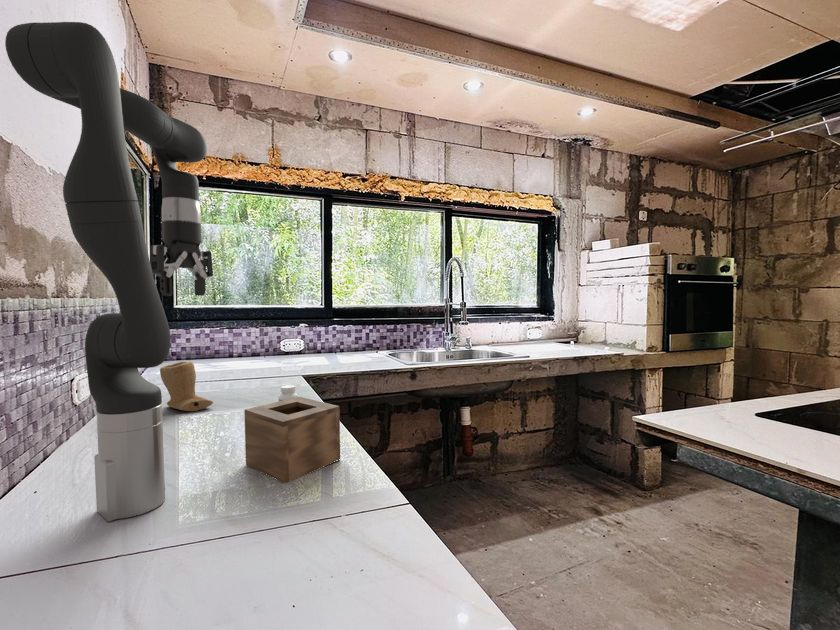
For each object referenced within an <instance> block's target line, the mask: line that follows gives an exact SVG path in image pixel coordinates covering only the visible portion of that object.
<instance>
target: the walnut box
mask: <svg viewBox="0 0 840 630" xmlns="http://www.w3.org/2000/svg"><path fill="white" fill-rule="evenodd" d="M243 410H244V442H245V444H244V446H245V447H244V448H245V451H244V452H245V466H246V465H247V466H246V467H248V468H251V469H253V470H255V471H257V472H260V473H261V472H262V473H261V474H263V473H264V475H266V474H267V475H266V476H268V475H269V476H268V477H270V476H271V478H272V477H274V478H276V479H277V481H278V480H279V481H278V482H281V483H283V484H286V483H289V482H291V481H293V479H294V480H296V479H298V477H299V478H301V477H303V475H304V476H306V475H308V473H309V474H311V473H313V472H315V471H314V470H316V471H318V470H320V469H319V468H321V467H323V466H326V465H328V464H330V463H332V462H334V461H336V460H339V459H340V460H341V425H340V424H341V422H340V420H341V419H340V418H341V417H340V416H341V415H340V413H341V412H340V405H336V404H332V403H327V402H325V401H319V400H315V399H311V398H306V397H303V396H298V397H297V398H292V399H288V400H284V401H279V400H278V401H276V402H272V403H267V404H263V405H258V406H255V407H249V408H245V409H243ZM328 466H329V465H328ZM326 467H327V466H326ZM323 468H324V467H323ZM317 469H318V470H317ZM321 469H322V468H321ZM312 471H313V472H312ZM310 472H311V473H310ZM274 478H273V479H274ZM295 478H296V479H295ZM276 479H275V480H276ZM290 480H291V481H290Z"/></svg>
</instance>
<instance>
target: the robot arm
mask: <svg viewBox="0 0 840 630" xmlns="http://www.w3.org/2000/svg"><path fill="white" fill-rule="evenodd" d="M4 43H5V51H6V54H7V58H8V60H9V62H10V64H11V66H12V68H13V69H14V71H15V72H16V73H17V75H18V76H19V77H20V78H21V79H22V81H24V82H25V83H26V84H27V85H28V86H29V87H30V88H32V89H34V90H35V91H37V92H39V93H40V94H42V95H45V96H47V97H50V98H52V99H54V100H56V101H58V102H62V103H65V104H67V105H70V106H73V107H75V108H78V109H80V115H81V130H80V131H81V133H80V138H79V141H78V144H77V147H76V149H75V152H74V154H73V157H72V158H71V161H70V164H69V166H68V168H67V171H66V174H65V177H64V180H63V186H62V196H63V201H64V203H65V208H66V212H67V217H68V222H69V224H70V228H71V232H72V235H73V237H74V239H75V240H76V242H77V243H78V245H79V246H80V248H81V249H82V250H83V252H84V253H85V254H86V255H87V257H88V258H89V259H90V260H91V261H92V263H93V264H94V265H95V266H96V267H97V269H98V270H99V271H100V272H101V273H102V275H104V277H105V279H107V281H108V282H109V284H110V286H111V288H112V289H113V290H112V291H113V292H114V295H115V297H116V300H117V302H118V307H119V310H120V312H119V313H118V312H114V313H113V312H111V313H104V314H101V315H99V316H97V317H96V318H94V319H93V320H92V322H91V323H90V325H89V326H88V328H87V330H86V333H85V334H86V335H85V340H84V341H85V342H84V353H85V363H86V373H87V374H86V375H87V381H88V382H87V383H88V390H89V393H90V396H91V397H92V399H93V401H94V402H95V409H96V429H97V430H96V431H97V432H96V433H97V434H96V435H97V447H98V448H97V451H98V453H97V454H95V455H94V456H93V457H94V461H93V462H94V478H95V479H94V480H95V501H96V503H95V504H96V505H95V506H96V511H97V512H98V513H99V514H100V515H101V516H102V518H104V520H106V522H112V521H115V520H118V519H119V520H121V519H127V518H132V517H136V515H137V516H141V515H143V514H145V513H147V512H150V511H153V510H155V509H156V508H158V507H159V506H160V505H162V504H163V503H164V502H165V500H166V481H165V480H166V479H165V453H164V452H165V449H164V429H163V428H164V427H163V426H164V424H163V423H164V422H163V403H162V402H163V400H162V398H163V397H162V396H163V395H162V390H161V388H160V387H159V386H157V385H156V384H154V383H152V382H151V381H148V380H147V379H146V378H144V377H143V375H142V374H141V373H140V371H139V369H150V368H155V367H158V366H160V365H162V364H163V363H164V362H165V360H166V359H167V358H168V355H169V354H170V352H171V351H170V350H171V342H172V341H171V337H172V336H171V330H170V326H169V322H168V318H167V316H166V312H165V309H164V306H163V303H162V300H161V298H160V294H159V290H160V293H161V295H162V296H165V297H171V296H173V278H172V276H173V274H174V273H175V272H176V271H177V270H178V269H180V268H182V269H187V270H188V271H189V272H191V274H192V275H193V277H194V278H195V279H194V281H193V282H194V295H195V296H197V297H200V296H205V293H206V279H207V278H210V277H213V275H214V271H213V270H214V269H213V257H212V251H211V250H200V245H201V244H202V243H203V239H202V218H201V217H202V212H201V207H200V189H199V186H200V185H199V180H198V177H197V176H196V175H195V174H193V173H190V172H188V171H183V170H179V169H178V167H177V163H198V162H201V161H203V160H204V159H205V157H206V156H207V153H208V145H207V141H206V139H205V137H204V136H203V135H202V133H201V132H200V131H199V130H198V129H197V128H196V127H195V126H192V125H191V124H189V123H186V122H185V121H183V120H179V119H178V118H176V117H173V116H169V114H167V112H165V111H163V110H162V109H161V108H160V107H159V106H157V105H156V104H154V103H153V102H152V101H151V100H148V99H147V98H146V97H143V96H141V95H139V94H137V93H135V92H132V91H129V90H126V89H125V88H124V89H123V88H122V87H120V80H119V74H118V69H117V65H116V61H115V59H114V55H113V52H112V49H111V48H110V45H109V44H108V41H107V40H106V38H105V37H104V36H103V34H102V33H101V32H100V31H99V30H98V29H97V28H96V27H95V26H93V25H91V24H89V23H87V22H80V21H59V22H58V21H57V22H53V21H51V22H28V23H21V24H16V25H13V27H11V28H10V29H8V31H7V32H6V36H5V41H4ZM125 131H127V132H128V133H129V134H131V135H133V136H134V137H136V138H137V139H139V140H140V141H142V142H143V143H145V144H146V145H148V146H150V147H151V151H152V153H153V156H154V159H155V162H156V165H157V167H158V172H159V175H160V180H161V195H162V196H161V197H162V202H161V203H162V204H161V232H162V233H161V236H162V242H163V243H164V245H162V244H157V245H156V244H155V245H150V248H149V249H150V250H149V251H148V247H147V243H146V238H145V232H144V231H145V230H144V225H143V220H142V219H143V218H142V214H141V209H140V204H139V200H138V195H137V192H136V189H135V187H136V186H135V183H134V180H133V173H132V170H131V166H130V159H129V158H130V157H129V153H128V149H127V143H126V135H125ZM148 252H149V253H148ZM165 256H166V258H165ZM154 276H156V277H158V278H159V290H158V287H157V284H156V280H155V277H154Z"/></svg>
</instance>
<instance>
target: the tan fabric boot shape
mask: <svg viewBox="0 0 840 630" xmlns="http://www.w3.org/2000/svg"><path fill="white" fill-rule="evenodd" d="M159 373H160V374H159V375H160V379H161V381H162V383H163V385H164V387H165V388H166V390H167V393H168V394H169V397H170V399H169V400H168V401H167V402H166V405H167V406H168V407H169V408H172V409H177V410H179V411H185V412H196V411H201V410H203V409H206V408H208V407H210V406H212V405H213V404H214V401H213V400H210V399H208V398H204V397H200V396H198V395H197V394H196V388H195V387H196V378H197V375H196V368H195V364H194V363H193V362H192V361H191V360H189V361H180V362H175V363H172V364H167V365H164V366H162V367H160V369H159Z"/></svg>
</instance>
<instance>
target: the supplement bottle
mask: <svg viewBox="0 0 840 630" xmlns="http://www.w3.org/2000/svg"><path fill="white" fill-rule="evenodd" d="M280 392H281V393H280V394H279V395H278V402H279V401H284V400H288V399H292V398H297V397H299V395H298V393H296V385H293V384H289V385H288V384H287V385H282V386H281V387H280Z"/></svg>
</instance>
